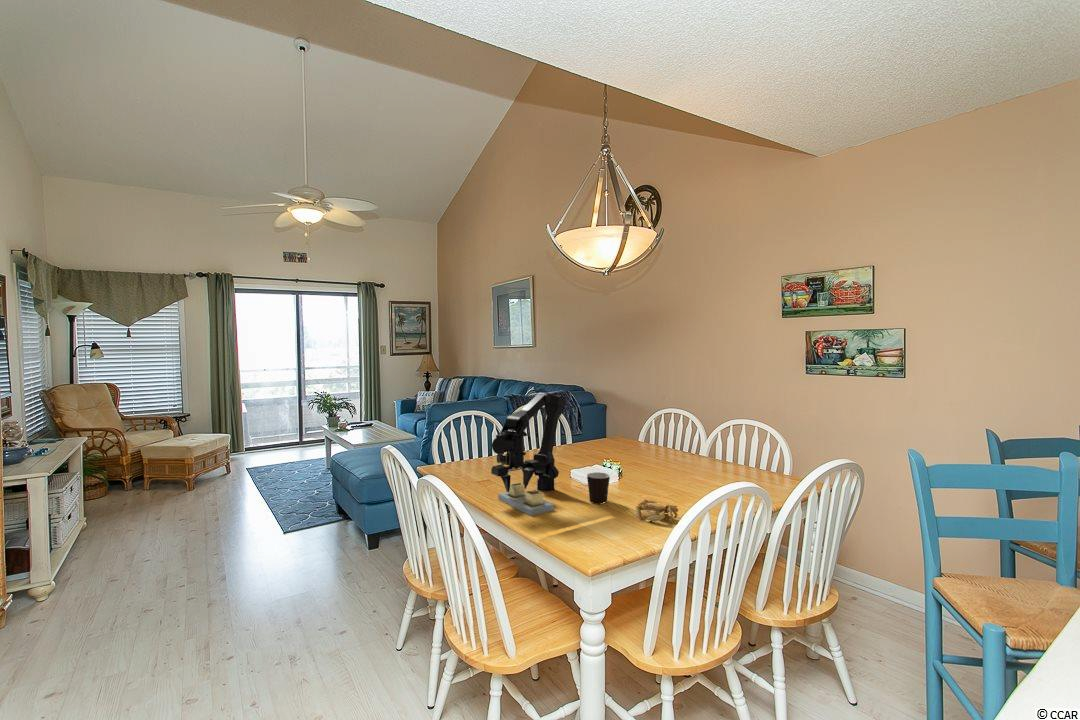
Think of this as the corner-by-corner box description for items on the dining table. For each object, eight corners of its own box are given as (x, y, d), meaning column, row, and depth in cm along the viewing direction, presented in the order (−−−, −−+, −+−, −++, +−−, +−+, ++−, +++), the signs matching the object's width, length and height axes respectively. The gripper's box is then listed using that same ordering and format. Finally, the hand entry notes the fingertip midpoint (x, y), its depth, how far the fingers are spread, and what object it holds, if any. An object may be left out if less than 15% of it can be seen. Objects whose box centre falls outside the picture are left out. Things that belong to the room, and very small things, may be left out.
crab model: (625, 516, 176) (625, 501, 176) (647, 508, 184) (647, 493, 184) (662, 529, 164) (662, 512, 164) (684, 519, 173) (684, 503, 172)
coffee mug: (593, 496, 198) (593, 471, 197) (613, 500, 193) (613, 474, 192) (578, 504, 188) (578, 477, 188) (598, 508, 183) (599, 481, 183)
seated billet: (535, 506, 183) (535, 489, 183) (542, 509, 180) (542, 492, 179) (525, 508, 181) (525, 491, 181) (532, 511, 177) (532, 494, 177)
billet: (518, 497, 193) (518, 481, 193) (524, 500, 190) (524, 484, 189) (508, 499, 191) (508, 483, 190) (514, 502, 187) (514, 486, 187)
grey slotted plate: (498, 501, 191) (498, 493, 191) (520, 497, 197) (520, 489, 197) (530, 518, 173) (530, 510, 173) (553, 512, 179) (553, 504, 179)
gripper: (525, 442, 201) (525, 481, 202) (483, 448, 191) (484, 489, 191) (541, 447, 192) (541, 488, 193) (498, 454, 181) (499, 496, 182)
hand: (516, 490), depth 190 cm, fingers open, 7 cm apart
